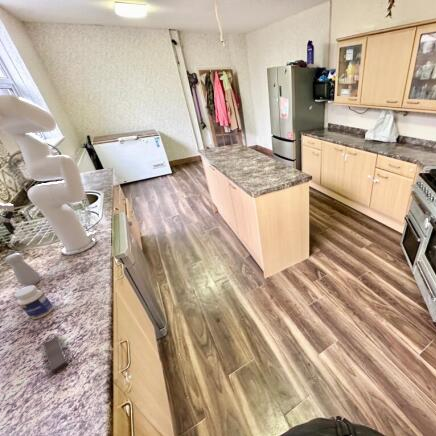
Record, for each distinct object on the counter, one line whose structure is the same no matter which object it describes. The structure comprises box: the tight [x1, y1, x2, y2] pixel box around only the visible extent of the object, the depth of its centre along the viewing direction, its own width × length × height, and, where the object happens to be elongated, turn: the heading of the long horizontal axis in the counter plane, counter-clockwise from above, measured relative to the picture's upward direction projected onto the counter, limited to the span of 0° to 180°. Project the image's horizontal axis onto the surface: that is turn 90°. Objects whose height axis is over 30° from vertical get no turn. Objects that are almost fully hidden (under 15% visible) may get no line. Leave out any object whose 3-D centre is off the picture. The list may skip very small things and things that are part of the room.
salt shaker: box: [4, 252, 41, 287], centre depth 87 cm, size 6×6×13 cm
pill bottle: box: [14, 284, 54, 320], centre depth 75 cm, size 6×6×10 cm
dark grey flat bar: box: [43, 335, 69, 374], centre depth 63 cm, size 12×3×1 cm, turn 51°
